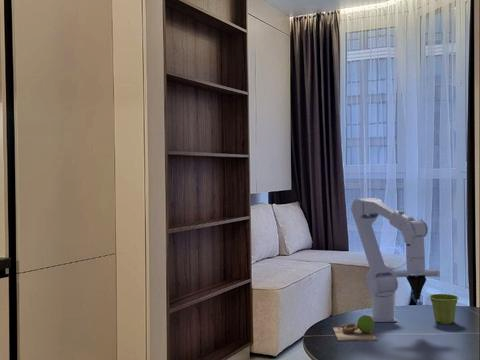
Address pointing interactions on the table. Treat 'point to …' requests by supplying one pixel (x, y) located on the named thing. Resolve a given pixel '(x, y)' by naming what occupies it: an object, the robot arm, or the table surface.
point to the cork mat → (353, 335)
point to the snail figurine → (359, 325)
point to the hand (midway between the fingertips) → (416, 299)
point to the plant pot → (444, 307)
